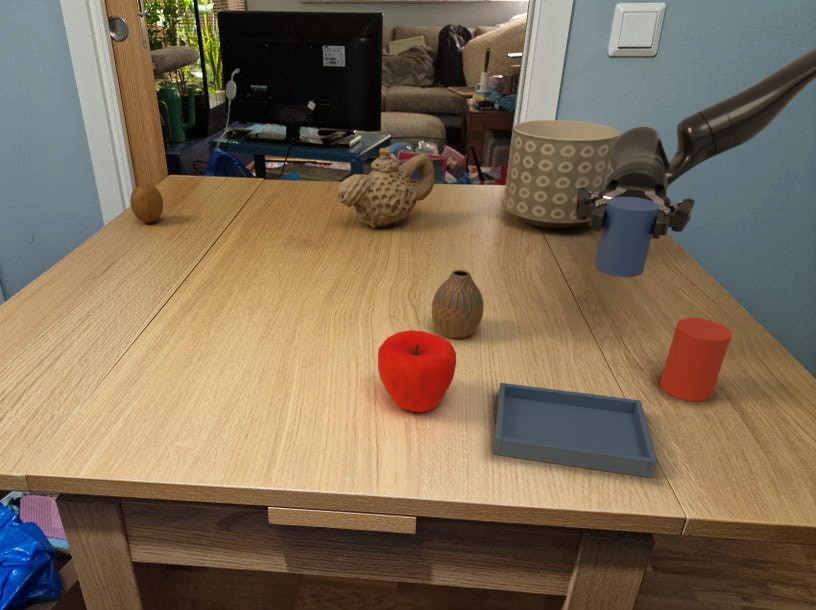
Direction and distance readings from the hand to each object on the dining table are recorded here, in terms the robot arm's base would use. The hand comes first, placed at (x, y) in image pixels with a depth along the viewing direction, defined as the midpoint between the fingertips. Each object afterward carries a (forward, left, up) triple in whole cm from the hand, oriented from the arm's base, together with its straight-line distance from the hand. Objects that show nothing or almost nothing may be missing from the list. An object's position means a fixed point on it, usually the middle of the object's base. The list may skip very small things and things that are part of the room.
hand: (627, 226), depth 75 cm
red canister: (-10, +4, -18) cm, 21 cm away
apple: (+21, +15, -18) cm, 32 cm away
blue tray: (+4, +17, -18) cm, 25 cm away
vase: (+18, -4, -18) cm, 26 cm away
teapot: (+36, -48, -18) cm, 63 cm away
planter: (+4, -57, -18) cm, 60 cm away
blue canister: (0, -2, -6) cm, 6 cm away
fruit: (+82, -37, -18) cm, 92 cm away
